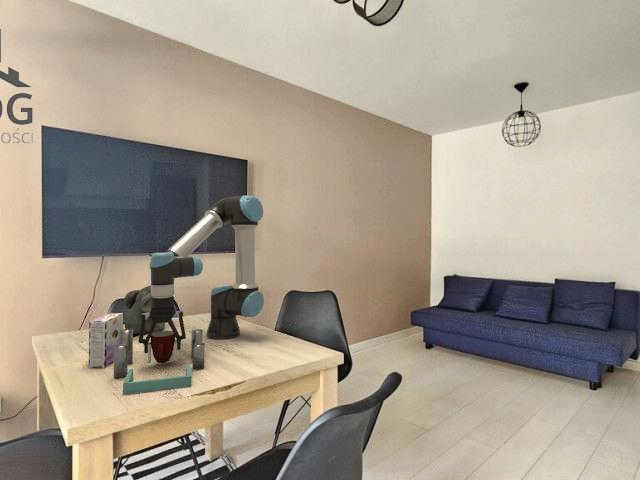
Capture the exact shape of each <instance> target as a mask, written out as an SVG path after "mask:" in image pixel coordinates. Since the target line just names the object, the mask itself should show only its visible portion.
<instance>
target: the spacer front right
mask: <svg viewBox="0 0 640 480" xmlns="http://www.w3.org/2000/svg"><path fill="white" fill-rule="evenodd" d="M128 367H129V365H128V344H118V345H115V346H114V362H113V379H115V380H116V379H117V380H119V379H125V378H126V376H127V373H128V371H129V369H128Z"/></svg>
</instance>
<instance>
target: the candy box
mask: <svg viewBox="0 0 640 480" xmlns="http://www.w3.org/2000/svg"><path fill="white" fill-rule="evenodd" d="M88 323H89V326H88V330H89V331H88V333H89V334H88V368H89V369H93V368H94V369H104V368H107V367H108V366H110V365H111V364H114V346H115V345H118V344H120V331H121V330H124V313H123V312H118V313H112V312H111V313H107V314H104V315H101V316H99V317H97V318H94V319H92V320H89V321H88Z"/></svg>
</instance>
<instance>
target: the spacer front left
mask: <svg viewBox="0 0 640 480" xmlns="http://www.w3.org/2000/svg"><path fill="white" fill-rule="evenodd" d="M205 346H206V345H205V343H203V342H202V343H197V344H193V345H192V359H191V360H192V361H191V363H192V365H191V366H192V367H191V368H192V369H191V370H195V371H198V370H199V371H200V370H202V369H204V368H205Z"/></svg>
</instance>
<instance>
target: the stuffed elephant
mask: <svg viewBox="0 0 640 480" xmlns="http://www.w3.org/2000/svg"><path fill="white" fill-rule="evenodd" d="M152 297H153V296H151V285H147V286H145V287H143V288H140V289H135V290H131V291H129V292H127V293H126V294H125V295H124V298H123V302H124V305H125V307H126V308H127V309H129V311H128V314H127V315H126V317H125V320H124V323H123V326H124V328H125V329H133V332H134V333H138V334H137V335H140V330H141V324H142V319H141V315H142V314H143V313H145V314H146V313H150V311H151V298H152ZM153 322H154V320H153V319H152V318H151V316H149V317H148V319H147V320H146V325H145V331H144V333H147V334H148V333H149V330H150V328H151V326H152V324H153ZM165 327H166V323H157V324H156V326H155V329H154V331H153V333H155V332H159V331H163V330H164V329H165Z"/></svg>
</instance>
